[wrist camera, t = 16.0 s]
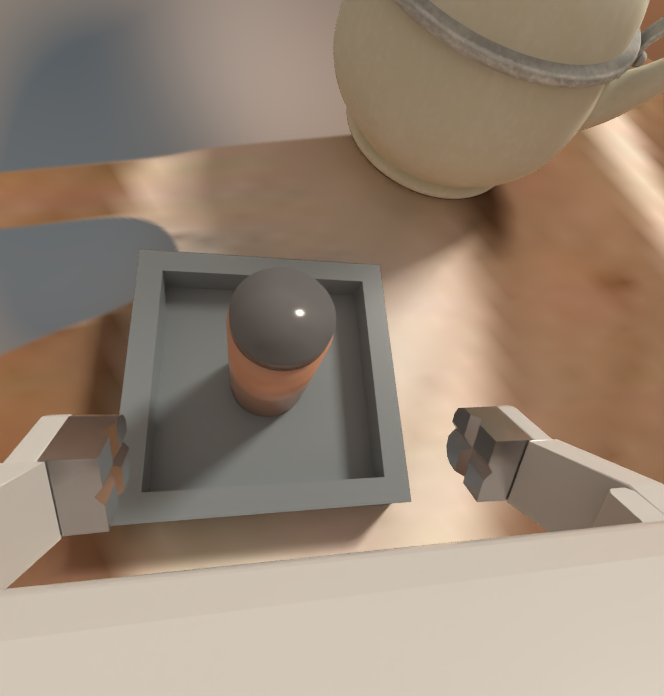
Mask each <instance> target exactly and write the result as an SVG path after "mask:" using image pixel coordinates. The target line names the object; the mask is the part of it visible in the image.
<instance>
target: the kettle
mask: <svg viewBox="0 0 664 696" xmlns="http://www.w3.org/2000/svg"><path fill="white" fill-rule="evenodd" d="M648 3H649V0H342V3H341V7H340V10H339V13H338V18H337V22H336V27H335V34H334V46H333V51H334V52H333V55H334V67H335V73H336V78H337V82H338V85H339V89H340V92H341V95H342V97H343V99H344V102H345V104H346V106H347V120H348V125H349V128H350V131H351V134H352V136H353V138H354V140H355V142H356V144H357V145H358V147H359V148H360V150H361V151H362V153H363V154H364V155H365V156H366V158H367V159H368V160H369V161H370V162H371V163H372V164H373V165H374V166H375V167H376V168H377V169H379V170H380V171H381V172H382V173H383V174H385V175H386V176H388V177H389V178H390V179H392V180H394V181H395V182H397V183H399V184H400V185H402V186H404V187H406V188H409V189H411V190H413V191H416V192H418V193H422V194H425V195H428V196H432V197H438V198H445V199H461V198H469V197H473V196H476V195H479V194H482V193H484V192H486V191H488V190H489V189H491V188H492V187H494V186H495V185H501V184H505V183H509V182H512V181H515V180H518V179H521V178H523V177H525V176H527V175H529V174H531V173H533V172H535V171H536V170H538V169H539V168H541V167H542V166H543V165H545V164H546V163H547V162H549V161H550V160H551V159H552V158H553V157H555V156H556V155H557V154H558V153H559V152H560V151H561V150H562V149H563V148H564V147H565V146H566V144H567V143H568V142H569V141H570V140H571V139H572V138H573V136H574V135H575V134H576V133H577V132H578V131H581V130H585V129H588V128H590V127H593V126H596V125H599V124H601V123H604V122H607V121H609V120H611V119H614V118H616V117H618V116H620V115H622V114H624V113H626V112H628V111H630V110H632V109H634V108H636V107H638V106H640V105H642V104H644V103H646V102H648V101H649V100H651V99H653V98H655V97H657V96H659V95H661V94H663V93H664V58H662V59H660V60H658V61H655V62H652V63H650V64H647V65H644V66H641V65H642V64H643V63H644V62H645V61H646V58H647V54H646V53H645V52H644V50H645V49H646V48H647V47H648V46H649V45H650V44H652V43H654V42H655V41H656V40H658V39H659V38H661V37H662V36H664V17H662V18H661V19H659V20H658V21H657V22H655V23H654V24H652V25H651V26H650V27H648V28H647V29H646V30H644V31H643V32H642V33H641V31H640V25H641V23H642V20H643V18H644V15H645V13H646V10H647V7H648ZM631 66H632V67H638V68H635V69H631V70H628V69H629V68H630V67H631ZM639 66H641V67H639Z"/></svg>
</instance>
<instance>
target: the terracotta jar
mask: <svg viewBox="0 0 664 696" xmlns="http://www.w3.org/2000/svg"><path fill="white" fill-rule="evenodd" d="M226 324H227V343H228V362H229V381H230V389H231V392H232V395H233V397H234V399H235V400H236V402H237V403H238V404H239V405H240V406H241V407H242V408H243V409H245V410H246V411H248V412H250V413H252V414H254V415H258V416H263V417H272V416H277V415H280V414H283V413H285V412H287V411H289V410H290V409H291V408H293V407H294V406H295V405H296V404H297V402H298V401H299V399H300V398H301V396H302V394H303V393H304V391H305V389H306V387H307V386H308V384H309V382H310V380H311V379H312V377H313V375H314V374H315V372H316V370H317V368H318V367H319V365H320V363H321V361H322V360H323V358H324V356H325V354H326V353H327V351H328V349H329V347H330V345H331V343H332V339H333V334H334V331H335V327H336V311H335V307H334V303H333V301H332V299H331V297H330V295H329V293H328V292H327V291H326V289H325V288H324V287H323V286H322V285H321V284H320V283H319V282H318V281H317V280H315V279H314V278H313V277H311V276H309V275H308V274H306V273H304V272H301V271H298V270H295V269H291V268H283V267H275V268H268V269H263V270H260V271H258V272H255V273H254V274H252V275H250V276H248V277H247V278H246V279H245V280H243V281H242V282H241V283H240V284H239V286H238V287H237V288H236V290H235V291H234V293H233V296H232V298H231V301H230V305H229V309H228V313H227V320H226Z"/></svg>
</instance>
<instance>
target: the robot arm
mask: <svg viewBox="0 0 664 696" xmlns="http://www.w3.org/2000/svg"><path fill="white" fill-rule="evenodd" d="M452 422H453V424H454V426H455V428H456V429H455V430H454V431H453V432H452V433H451V434H450V435H449V437H448V441H447V446H446V447H447V457H448V459H449V462H450V464H451V466H452V467H453V469H454V470H455V471H456V472H458V473H459V474H461V475H463V476H464V482H463V483H464V485H465V486H466V487H467V489H468V490H469V492H470V493H471V494H472V496H473V497H474V499H475V500H476V501H477V502H485V501H505V500H508V501H507V502H508V503H509V504H511V505H512V506H514V507H515V508H516V509H518V510H519V511H521V512H522V513H523V514H525V515H526V516H528V517H529V518H530V519H532V520H533V521H535V522H536V523H537V524H539V525H540V526H542V527H543V528H544V529H546V530H547V531H549V532H548V533H538V534H528V535H519V536H509V537H499V538H490V539H480V540H470V541H461V542H451V543H441V544H432V545H422V546H412V547H403V548H394V549H384V550H375V551H365V552H356V553H346V554H337V555H328V556H318V557H309V558H299V559H290V560H280V561H270V562H261V563H251V564H241V565H232V566H222V567H213V568H203V569H193V570H184V571H174V572H164V573H155V574H145V575H136V576H126V577H116V578H107V579H97V580H88V581H78V582H68V583H59V584H49V585H39V586H30V587H20V588H11V589H6V588H7V587H8V586H9V585H10V584H12V583H13V582H14V581H15V580H16V579H17V578H18V577H19V576H20V575H22V574H23V573H24V572H25V571H26V570H27V569H28V568H29V567H31V566H32V565H33V564H34V563H35V562H36V561H37V560H38V559H39V558H41V557H42V556H43V555H44V554H45V553H46V552H47V551H48V550H49V549H51V548H52V547H53V546H54V545H55V544H56V543H57V542H58V541H59V540H61V536H71V535H80V534H89V533H99V532H108V531H109V530H110V527H111V525H112V522H113V520H114V517H115V514H116V512H117V509H118V507H119V505H118V497H117V496H118V495H119V494H121V493H122V492H123V491H124V490H125V488H126V485H127V482H128V477H129V471H130V449H129V447H128V446H127V445H126V444H125V443H124V442H123V440H124V438H125V435H126V433H127V425H126V419H125V417H124V416H123V414H93V415H71V414H65V415H46V416H42V417H41V418H40V419H39V420H38V422H37V423H36V424H35V425H34V426H33V428H32V429H31V430H30V431H29V432H28V434H27V435H26V436H25V437H24V438H23V440H22V441H21V442H20V443H19V444H18V446H17V447H16V448H15V449H14V450H13V452H12V453H11V454H10V455H9V456H8V458H7V459H6V460H5V461H4V462H3V463H0V696H664V485H663V484H662V483H659V482H657V481H655V480H652V479H650V478H648V477H645V476H643V475H640V474H638V473H636V472H633V471H631V470H629V469H626V468H624V467H621V466H619V465H617V464H614V463H612V462H610V461H607V460H605V459H602V458H600V457H598V456H595V455H593V454H591V453H588V452H586V451H584V450H581V449H579V448H576V447H574V446H572V445H569V444H567V443H565V442H562V441H560V440H557V439H555V440H552V439H551V438H550V437H549V436H547V435H546V434H545V433H544V432H543V431H542V430H540V429H539V428H538V427H537V426H536V425H535V424H534V423H532V422H531V421H530V420H529V419H528V418H527V417H525V416H524V415H523V414H522V413H521V412H520V411H519V410H517V409H516V408H515V407H512V406H509V405H507V406H492V407H473V408H458V409H457V411H456V412H455V414H454V418H453V421H452Z"/></svg>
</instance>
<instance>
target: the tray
mask: <svg viewBox="0 0 664 696" xmlns="http://www.w3.org/2000/svg"><path fill="white" fill-rule="evenodd" d="M275 267H283V268H291V269H295V270H298V271H301V272H304V273H306V274H308V275H309V276H311V277H313V278H314V279H315V280H317V281H318V282H319V283H320V284H321V285H322V286H323V287H324V288H325V289H326V291H327V292H328V293H329V295H330V297H331V299H332V301H333V303H334V307H335V311H336V327H335V331H334V334H333V339H332V343H331V345H330V347H329V349H328V351H327V353H326V354H325V356H324V358H323V360H322V361H321V363H320V365H319V367H318V368H317V370H316V372H315V374H314V375H313V377H312V379H311V380H310V382H309V384H308V386H307V387H306V389H305V391H304V393H303V394H302V396H301V398H300V399H299V401H298V402H297V404H296V405H295V406H294V407H293V408H291V409H290V410H289V411H287V412H285V413H283V414H280V415H277V416H272V417H263V416H258V415H254V414H252V413H250V412H248V411H246V410H245V409H243V408H242V407H241V406H240V405H239V404H238V403H237V402H236V400H235V399H234V397H233V395H232V392H231V389H230V381H229V362H228V343H227V324H226V320H227V313H228V309H229V305H230V301H231V298H232V296H233V293H234V291H235V290H236V288H237V287H238V286H239V284H240V283H241V282H242V281H243V280H245V279H246V278H247V277H248V276H250V275H252V274H254V273H255V272H258V271H260V270H263V269H268V268H275ZM119 414H123V416H124V417H125V419H126V425H127V433H126V435H125V438H124V440H123V442H124V443H125V444H126V445H127V446H128V447H129V449H130V471H129V477H128V482H127V485H126V488H125V490H124V491H123V492H122V493H121V494H119V495H118V496H117V497H118V505H119V507H118V509H117V512H116V514H115V517H114V520H113V522H112V525H111V526H117V525H129V524H142V523H154V522H167V521H179V520H192V519H204V518H216V517H229V516H241V515H254V514H266V513H278V512H291V511H303V510H316V509H328V508H341V507H353V506H365V505H378V504H390V503H403V502H411V496H410V488H409V481H408V473H407V466H406V458H405V451H404V443H403V436H402V428H401V421H400V413H399V406H398V398H397V391H396V383H395V376H394V368H393V361H392V353H391V346H390V338H389V331H388V323H387V316H386V308H385V301H384V293H383V286H382V278H381V271H380V265H374V264H358V263H343V262H328V261H313V260H297V259H282V258H267V257H252V256H236V255H221V254H206V253H190V252H175V251H160V250H145V249H140V250H139V258H138V267H137V275H136V284H135V292H134V299H133V307H132V315H131V323H130V332H129V340H128V348H127V356H126V364H125V372H124V380H123V389H122V397H121V405H120V413H119Z"/></svg>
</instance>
